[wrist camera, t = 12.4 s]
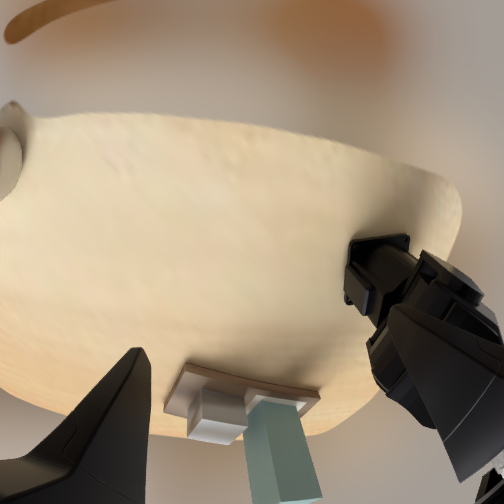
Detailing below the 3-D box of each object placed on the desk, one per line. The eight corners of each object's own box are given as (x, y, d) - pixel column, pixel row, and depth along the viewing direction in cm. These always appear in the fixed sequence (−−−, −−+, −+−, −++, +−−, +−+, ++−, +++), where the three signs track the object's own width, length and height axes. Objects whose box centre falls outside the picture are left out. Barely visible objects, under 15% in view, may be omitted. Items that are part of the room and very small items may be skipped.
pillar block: (260, 400, 28) (281, 501, 16) (296, 406, 30) (322, 497, 18) (241, 420, 30) (254, 512, 18) (274, 425, 31) (293, 509, 19)
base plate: (185, 362, 26) (183, 402, 21) (318, 391, 31) (330, 423, 26) (164, 404, 29) (160, 439, 24) (281, 426, 34) (288, 456, 29)
